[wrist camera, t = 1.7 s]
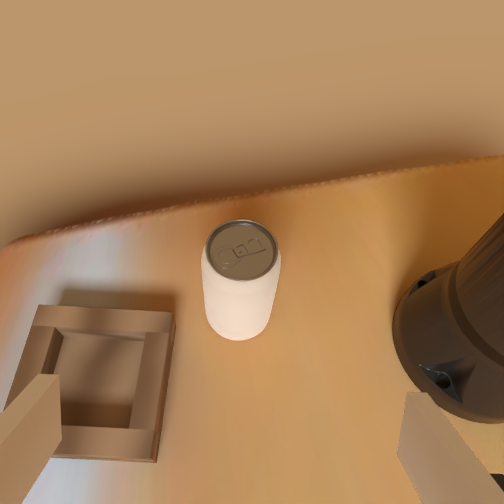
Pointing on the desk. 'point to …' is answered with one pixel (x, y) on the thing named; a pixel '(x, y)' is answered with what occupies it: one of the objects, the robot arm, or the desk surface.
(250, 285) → the can
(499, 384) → the robot arm
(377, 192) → the desk surface
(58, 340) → the holder
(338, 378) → the desk surface
